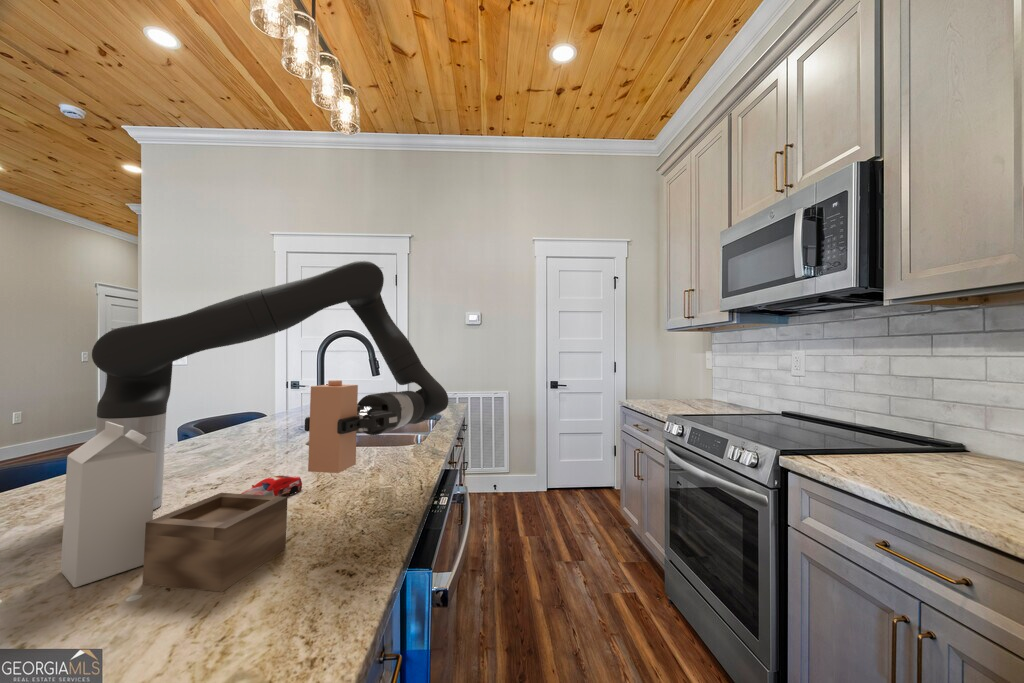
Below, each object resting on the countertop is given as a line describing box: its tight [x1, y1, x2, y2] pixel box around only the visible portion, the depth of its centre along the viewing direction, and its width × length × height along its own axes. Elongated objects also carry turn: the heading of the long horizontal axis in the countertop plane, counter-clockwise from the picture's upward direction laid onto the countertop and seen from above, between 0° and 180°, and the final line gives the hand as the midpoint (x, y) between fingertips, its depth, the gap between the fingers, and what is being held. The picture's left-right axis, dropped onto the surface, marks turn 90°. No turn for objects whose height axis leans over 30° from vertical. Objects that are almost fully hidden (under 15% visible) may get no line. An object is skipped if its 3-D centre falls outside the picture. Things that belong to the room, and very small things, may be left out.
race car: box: [240, 475, 303, 497], centre depth 79 cm, size 13×5×4 cm, turn 161°
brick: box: [307, 379, 359, 474], centre depth 63 cm, size 5×5×14 cm
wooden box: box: [142, 492, 289, 593], centre depth 54 cm, size 11×11×8 cm
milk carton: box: [60, 421, 156, 588], centre depth 53 cm, size 7×7×19 cm
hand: (323, 425), depth 61 cm, fingers closed on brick, 5 cm apart
